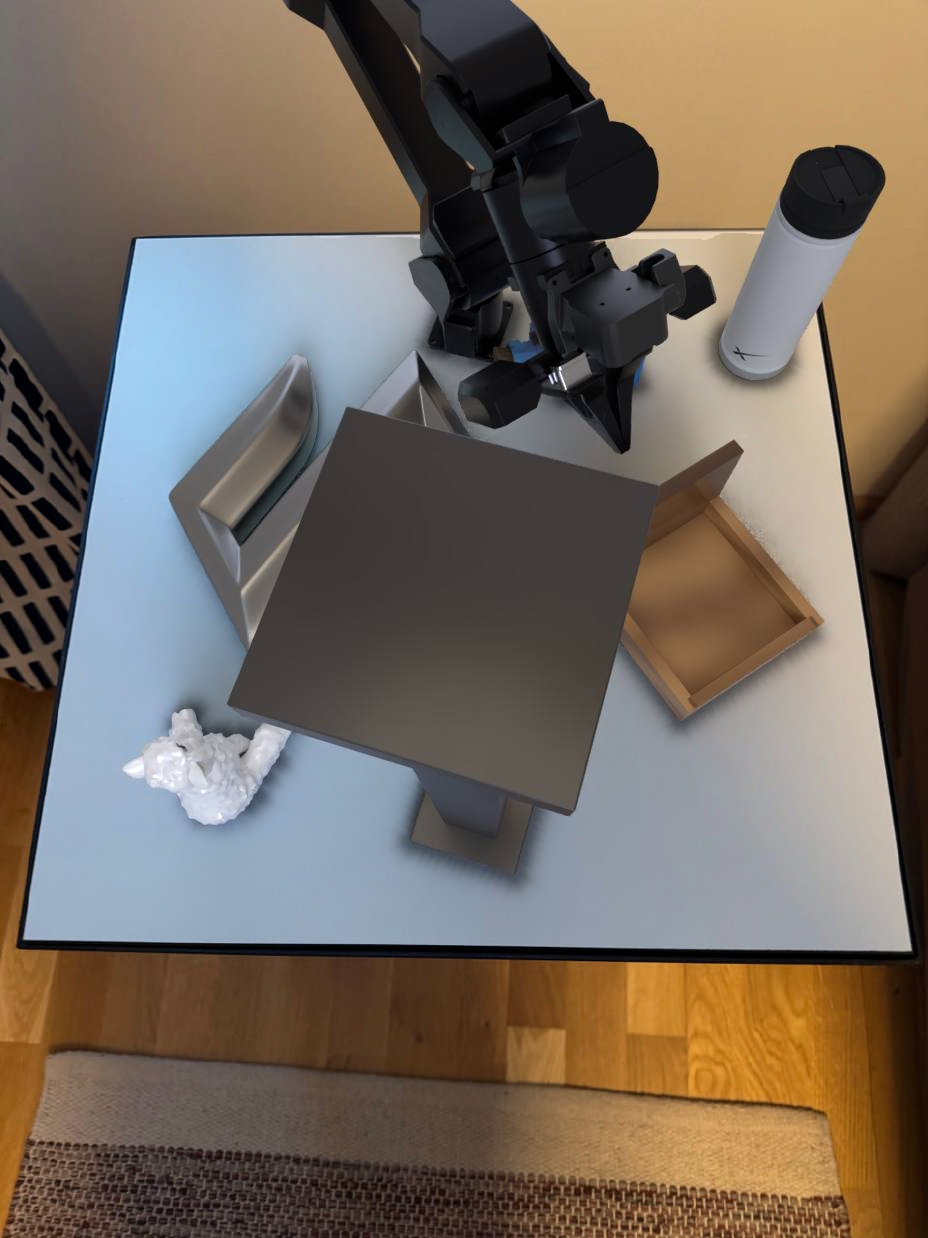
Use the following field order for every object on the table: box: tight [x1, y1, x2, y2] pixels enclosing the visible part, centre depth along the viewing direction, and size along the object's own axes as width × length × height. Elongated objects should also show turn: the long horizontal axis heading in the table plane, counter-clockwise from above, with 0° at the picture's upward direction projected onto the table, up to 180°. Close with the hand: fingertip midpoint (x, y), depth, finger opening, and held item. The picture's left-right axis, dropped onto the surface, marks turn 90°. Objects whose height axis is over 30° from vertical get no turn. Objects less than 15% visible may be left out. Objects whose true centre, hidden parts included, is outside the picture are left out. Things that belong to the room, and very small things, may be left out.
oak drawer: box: [619, 439, 825, 722], centre depth 63 cm, size 14×13×10 cm
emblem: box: [168, 349, 472, 653], centre depth 68 cm, size 28×5×28 cm
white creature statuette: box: [122, 708, 292, 826], centre depth 59 cm, size 10×9×12 cm
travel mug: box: [718, 144, 887, 381], centre depth 65 cm, size 6×7×20 cm
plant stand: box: [226, 405, 660, 876], centre depth 41 cm, size 8×8×46 cm
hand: (623, 451), depth 63 cm, fingers closed
